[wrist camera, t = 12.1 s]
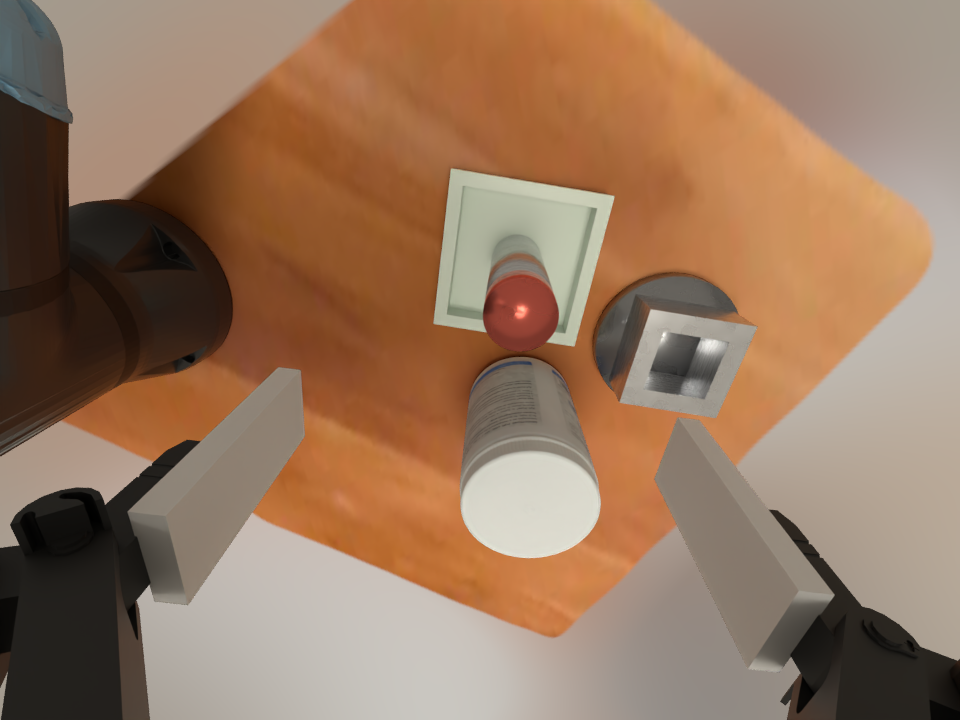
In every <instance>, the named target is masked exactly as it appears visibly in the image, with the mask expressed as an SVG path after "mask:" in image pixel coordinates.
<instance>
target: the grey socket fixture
mask: <svg viewBox="0 0 960 720" xmlns="http://www.w3.org/2000/svg"><path fill="white" fill-rule="evenodd" d="M756 329H757V326H756V325H754V324H753V323H751V322H749V321H748V320H746V319H745V318H743V317H742V316H740V315H739V314H738V312H737V310H736V307H735V306H734V304H733V303H732V301H731V300H730V299H729V297H728V296H727V295H726V294H725V293H724V292H722V291H721V290H720V289H719V288H717V287H715V286H714V285H712V284H710V283H709V282H707V281H705V280H703V279H701V278H699V277H696V276H693V275H689V274H684V273H663V274H657V275H653V276H649V277H646V278H644V279H641V280H639V281H637V282H635V283H633V284H631V285H629V286H628V287H627V288H625V289H624V290H622V291H621V292H620V293H619V294H618V295H616V296H615V297H614V298H613V299H612V300H611V302H610V303H609V304H608V305H607V306H606V308H605V309H604V311H603V312H602V314H601V316H600V318H599V320H598V322H597V325H596V328H595V332H594V337H593V354H594V358H595V362H596V364H597V367H598V369H599V371H600V374H601V376H602V377H603V379H604V381H605V382H606V384H607V385H608V386H609V387H610V388H611V389H612V390H613V391H614V392H615V394H616V397H617V399H618V401H619V403H625V404H631V405H638V406H644V407H650V408H656V409H663V410H669V411H675V412H681V413H688V414H694V415H700V416H706V417H713V418H716V417H717V415H718V413H719V410H720V408H721V406H722V404H723V402H724V399H725V397H726V395H727V393H728V391H729V388H730V386H731V384H732V382H733V380H734V377H735V375H736V373H737V371H738V369H739V367H740V364H741V362H742V360H743V358H744V356H745V353H746V351H747V349H748V347H749V345H750V342H751V340H752V338H753V336H754V334H755V331H756Z"/></svg>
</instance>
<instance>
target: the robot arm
mask: <svg viewBox="0 0 960 720" xmlns="http://www.w3.org/2000/svg"><path fill="white" fill-rule="evenodd" d="M72 122H73V117H72V113H71V112H70V110H69V109H68V106H67V95H66V85H65V75H64V63H63V49H62V44H61V41H60V38H59V35H58V33H57V31H56V29H55V27H54V26H53V24H52V22H51V21H50V20H49V18H48V17H47V16H46V15H45V13H44V12H43V11H42V10H41V9H40V8H39V7H38V6H37V5H36V4H35V3H34V2H33V1H32V0H0V456H2V455H4V454H5V453H7V452H9V451H10V450H12V449H14V448H15V447H17V446H19V445H20V444H22V443H24V442H25V441H27V440H29V439H30V438H32V437H34V436H35V435H37V434H38V433H40V432H42V431H44V430H45V429H47V428H48V427H50V426H52V425H54V424H55V423H57V422H59V421H60V420H62V419H64V418H65V417H67V416H69V415H70V414H72V413H74V412H75V411H77V410H79V409H80V408H82V407H84V406H85V405H87V404H89V403H90V402H92V401H94V400H95V399H97V398H99V397H100V396H102V395H104V394H105V393H107V392H108V391H110V390H112V389H114V388H115V387H117V386H119V385H121V384H122V383H127V382H132V381H137V380H142V379H147V378H152V377H158V376H163V375H168V374H173V373H177V372H180V371H183V370H186V369H188V368H190V367H192V366H194V365H196V364H197V363H199V362H200V361H202V360H203V359H205V358H206V357H208V356H209V355H211V354H212V353H213V352H215V351H216V350H217V349H218V348H219V346H220V345H221V344H222V342H223V341H224V339H225V337H226V335H227V333H228V331H229V327H230V323H231V317H232V303H231V296H230V291H229V287H228V284H227V281H226V278H225V276H224V274H223V271H222V269H221V268H220V266H219V264H218V262H217V260H216V259H215V257H214V256H213V254H212V253H211V252H210V250H209V249H208V248H207V246H206V245H205V244H204V243H203V242H202V241H201V239H200V238H199V237H198V236H197V235H196V234H195V233H193V232H192V231H191V230H190V229H189V228H188V227H187V226H185V225H184V224H183V223H181V222H180V221H179V220H177V219H176V218H174V217H173V216H171V215H169V214H167V213H166V212H164V211H162V210H160V209H157V208H155V207H153V206H150V205H147V204H144V203H140V202H136V201H131V200H121V199H113V200H102V201H92V202H85V203H80V204H77V205H74V206H70V207H69V193H68V192H69V190H68V133H69V131H68V129H69V123H72ZM304 437H305V430H304V414H303V397H302V381H301V370H297V369H289V368H281V367H278V368H277V369H276V370H275V371H274V372H273V373H272V374H271V375H270V376H269V377H268V378H267V379H266V380H265V381H263V382H262V383H261V384H260V385H259V386H258V387H257V388H256V389H255V390H254V391H253V392H252V393H251V394H250V395H249V396H248V397H247V398H246V399H245V400H244V401H243V402H242V403H240V404H239V405H238V406H237V407H236V408H235V409H234V410H233V411H232V412H231V413H230V414H229V415H228V416H227V417H226V418H225V419H224V420H223V421H222V422H221V423H220V424H219V425H217V426H216V427H215V428H214V429H213V430H212V431H211V432H210V433H209V434H208V435H207V436H206V437H205V438H204V439H203V440H202V441H193V440H186V441H184V442H182V443H180V444H178V445H176V446H174V447H172V448H170V449H168V450H167V451H166V452H164V453H163V454H162V455H161V456H160V457H159V458H158V459H157V460H155V461H154V462H153V463H152V466H149V467H148V468H146V469H145V470H144V471H143V472H142V473H141V474H140V476H139V477H136V478H135V479H134V480H133V481H132V482H131V483H129V484H128V485H127V486H126V487H125V488H124V489H123V490H122V491H120V492H119V493H118V494H117V495H116V496H115V497H114V498H112V499H111V500H110V501H109V502H108V503H107V504H106V505H105V503H104V500H103V498H102V496H101V494H100V492H98V491H96V490H94V489H92V488H71V489H65V490H60V491H57V492H54V493H51V494H49V495H46V496H43V497H41V498H39V499H37V500H36V501H34V502H32V503H30V504H28V505H27V506H25V508H23V509H22V510H21V511H20V512H18V513H17V514H16V515H15V517H14V519H13V521H12V522H11V524H10V526H11V528H12V530H13V532H14V534H15V536H16V538H17V541H18V543H19V546H12V547H4V548H0V687H1V685H2V683H3V680H4V678H5V676H6V674H7V672H8V675H7V682H6V689H5V696H4V703H3V710H2V716H1V720H150V716H149V705H148V696H147V685H146V675H145V664H144V654H143V644H142V634H141V623H140V613H139V607H138V604H137V601H136V600H137V599H138V598H139V597H140V595H141V594H142V593H143V592H144V590H145V589H146V588H147V587H148V585H150V588H151V591H152V595H153V598H154V601H155V602H165V603H173V604H181V605H189V603H190V602H191V600H192V599H193V598H194V596H195V594H196V593H197V592H198V590H199V589H200V587H201V586H202V585H203V583H204V582H205V580H206V579H207V577H208V576H209V574H210V573H211V571H212V570H213V569H214V567H215V566H216V564H217V563H218V561H219V560H220V558H221V557H222V556H223V554H224V552H225V551H226V550H227V548H228V547H229V545H230V544H231V543H232V541H233V540H234V538H235V537H236V535H237V534H238V532H239V531H240V529H241V528H242V527H243V525H244V524H245V522H246V521H247V519H248V518H249V516H250V515H251V514H252V512H253V511H254V509H255V508H256V506H257V505H258V503H259V502H260V501H261V499H262V498H263V496H264V495H265V493H266V492H267V490H268V489H269V487H270V486H271V485H272V483H273V482H274V480H275V479H276V477H277V476H278V474H279V473H280V472H281V470H282V469H283V467H284V466H285V464H286V463H287V461H288V460H289V459H290V457H291V456H292V454H293V453H294V451H295V450H296V448H297V447H298V445H299V444H300V443H301V441H302V440H303V438H304ZM655 482H656V484H657V486H658V488H659V490H660V492H661V494H662V496H663V498H664V500H665V502H666V504H667V506H668V508H669V510H670V512H671V514H672V516H673V518H674V520H675V522H676V524H677V526H678V528H679V530H680V532H681V534H682V536H683V538H684V540H685V542H686V545H687V546H688V549H689V550H690V553H691V555H692V557H693V559H694V561H695V562H696V565H697V567H698V569H699V571H700V573H701V575H702V577H703V579H704V581H705V583H706V585H707V587H708V589H709V591H710V593H711V595H712V597H713V599H714V601H715V603H716V605H717V607H718V610H719V611H720V614H721V616H722V618H723V620H724V622H725V624H726V626H727V628H728V630H729V632H730V634H731V636H732V638H733V640H734V642H735V644H736V646H737V648H738V650H739V652H740V654H741V656H742V658H743V660H744V662H745V664H746V666H747V668H748V669H753V670H762V671H771V672H780V671H781V669H782V668H783V667H784V665H785V664H786V662H787V661H788V660H789V658H790V657H792V659H793V661H794V662H795V664H796V666H797V667H798V669H799V671H800V672H801V674H800V675H799V676H798V678H797V679H796V680H795V682H794V683H793V684H792V685H791V687H790V688H789V689H788V691H787V692H786V694H785V695H784V696H783V698H782V700H781V701H780V702H782V703H783V704H784V705H786V704H787V703H788V702H789V700H791V702H790V707H789V712H788V717H787V720H960V659H959V660H958V661H957V660H954V659H951V658H949V657H946V656H943V655H941V654H938V653H935V652H932V651H930V650H927V649H925V648H922V647H920V646H919V645H918V643H917V642H916V641H915V639H914V638H913V637H912V636H911V635H910V634H909V633H908V632H907V631H906V630H904V629H903V628H902V627H901V626H900V625H899V624H897V623H896V622H894V621H893V620H891V619H890V618H888V617H887V616H885V615H883V614H881V613H879V612H877V611H875V610H872V609H870V608H865V607H862V606H861V605H860V603H859V602H858V601H857V600H856V599H855V597H854V596H853V595H852V594H851V593H850V591H849V590H848V589H847V588H846V586H845V585H844V584H843V583H842V581H841V580H840V579H839V578H838V577H837V575H836V574H835V573H834V572H833V570H832V569H831V568H830V567H829V565H828V564H827V563H826V562H825V561H824V559H823V558H820V556H819V553H818V552H817V551H816V550H815V548H814V547H813V546H812V545H811V544H809V541H808V540H807V538H806V537H805V536H804V535H803V534H802V532H801V531H800V530H799V529H798V527H797V526H796V525H795V524H794V523H792V522H791V521H790V520H789V519H787V518H786V517H785V516H784V515H782V514H781V513H780V512H779V511H777V510H769V509H768V508H767V507H766V506H765V504H764V503H763V502H762V501H761V499H760V498H759V497H758V495H757V494H756V493H755V491H754V490H753V489H752V488H751V487H750V485H749V484H748V483H747V481H746V480H745V479H744V477H743V476H742V475H741V473H740V472H739V471H738V470H737V468H736V467H735V466H734V464H733V463H732V462H731V460H730V459H729V458H728V457H727V455H726V454H725V453H724V451H723V450H722V449H721V448H720V446H719V445H718V444H717V442H716V441H715V440H714V439H713V437H712V436H711V435H710V433H709V432H708V431H707V430H706V428H705V427H704V426H703V424H702V423H701V422H700V420H694V419H686V418H677V421H676V423H675V426H674V429H673V431H672V434H671V436H670V439H669V442H668V444H667V447H666V450H665V452H664V455H663V458H662V460H661V463H660V465H659V468H658V471H657V473H656V476H655Z"/></svg>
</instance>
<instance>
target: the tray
mask: <svg viewBox="0 0 960 720" xmlns="http://www.w3.org/2000/svg"><path fill="white" fill-rule="evenodd" d="M614 197H615V196H612V195H609V194H605V193H599V192H593V191H587V190H581V189H575V188H569V187H563V186H557V185H551V184H545V183H539V182H533V181H527V180H522V179H516V178H510V177H504V176H498V175H492V174H486V173H480V172H474V171H468V170H462V169H456V168H452V169H451V173H450V182H449V191H448V199H447V208H446V217H445V226H444V235H443V243H442V252H441V261H440V270H439V279H438V287H437V296H436V305H435V314H434V323H433V324H438V325H444V326H450V327H456V328H463V329H469V330H475V331H481V332H486V330H485V327H484V323H483V309H484V303H485V296H486V290H487V284H488V278H489V272H490V266H491V260H492V254H493V251H494V249H495V247H496V245H497V244H498V243H499V242H500V241H501V240H502V239H503V238H505V237H507V236H510V235H515V234H519V235H524V236H527V237H529V238H530V239H532V240H533V241H534V242H535V243H536V244H537V246H538V248H539V250H540V253H541V256H542V259H543V262H544V265H545V268H546V271H547V274H548V277H549V280H550V283H551V286H552V289H553V292H554V295H555V298H556V301H557V305H558V309H559V321H558V325H557V328H556V330H555V332H554V334H553V335H552V336H551V338H550V339H549V340H548V341H547V342H549V343H555V344H561V345H567V346H575V342H576V339H577V335H578V331H579V327H580V324H581V320H582V316H583V313H584V309H585V305H586V301H587V298H588V294H589V290H590V286H591V283H592V279H593V275H594V272H595V268H596V264H597V260H598V257H599V253H600V249H601V245H602V242H603V238H604V234H605V231H606V227H607V223H608V219H609V216H610V212H611V208H612V205H613V201H614Z"/></svg>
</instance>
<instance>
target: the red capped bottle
mask: <svg viewBox="0 0 960 720" xmlns="http://www.w3.org/2000/svg"><path fill="white" fill-rule="evenodd" d="M558 321H559V309H558V305H557V301H556V298H555V295H554V292H553V289H552V286H551V283H550V280H549V277H548V274H547V271H546V268H545V265H544V262H543V259H542V256H541V253H540V250H539V248H538V246H537V244H536V243H535V242H534V241H533V240H532V239H530V238H529V237H527V236H524V235H519V234H515V235H510V236H507V237H505V238H503V239H502V240H501V241H500V242H499V243H498V244H497V245H496V247H495V249H494V251H493V254H492V260H491V266H490V272H489V278H488V284H487V290H486V296H485V303H484V309H483V323H484V327H485V330H486V332H487V333H488V335H489V336H490V338H491V339H492V340H493V341H494V342H495V343H496V344H498V345H499V346H501V347H503V348H505V349H508V350H512V351H529V350H533V349H535V348H538V347H540V346H541V345H543V344H544V343H546V342H547V341H548V340H549V339H550V338H551V336H552V335H553V334H554V332H555V330H556V328H557V325H558Z"/></svg>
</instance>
